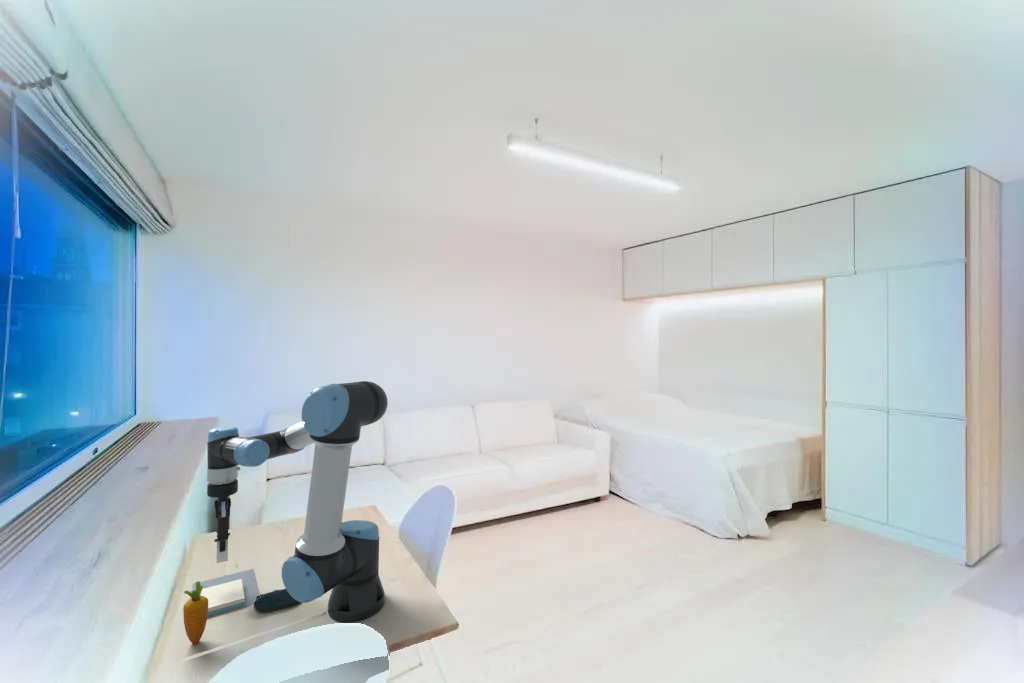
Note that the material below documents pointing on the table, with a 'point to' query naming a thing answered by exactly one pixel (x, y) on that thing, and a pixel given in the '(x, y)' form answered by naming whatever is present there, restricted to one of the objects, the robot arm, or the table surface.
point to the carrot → (195, 614)
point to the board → (224, 596)
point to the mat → (247, 582)
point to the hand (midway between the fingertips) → (222, 560)
